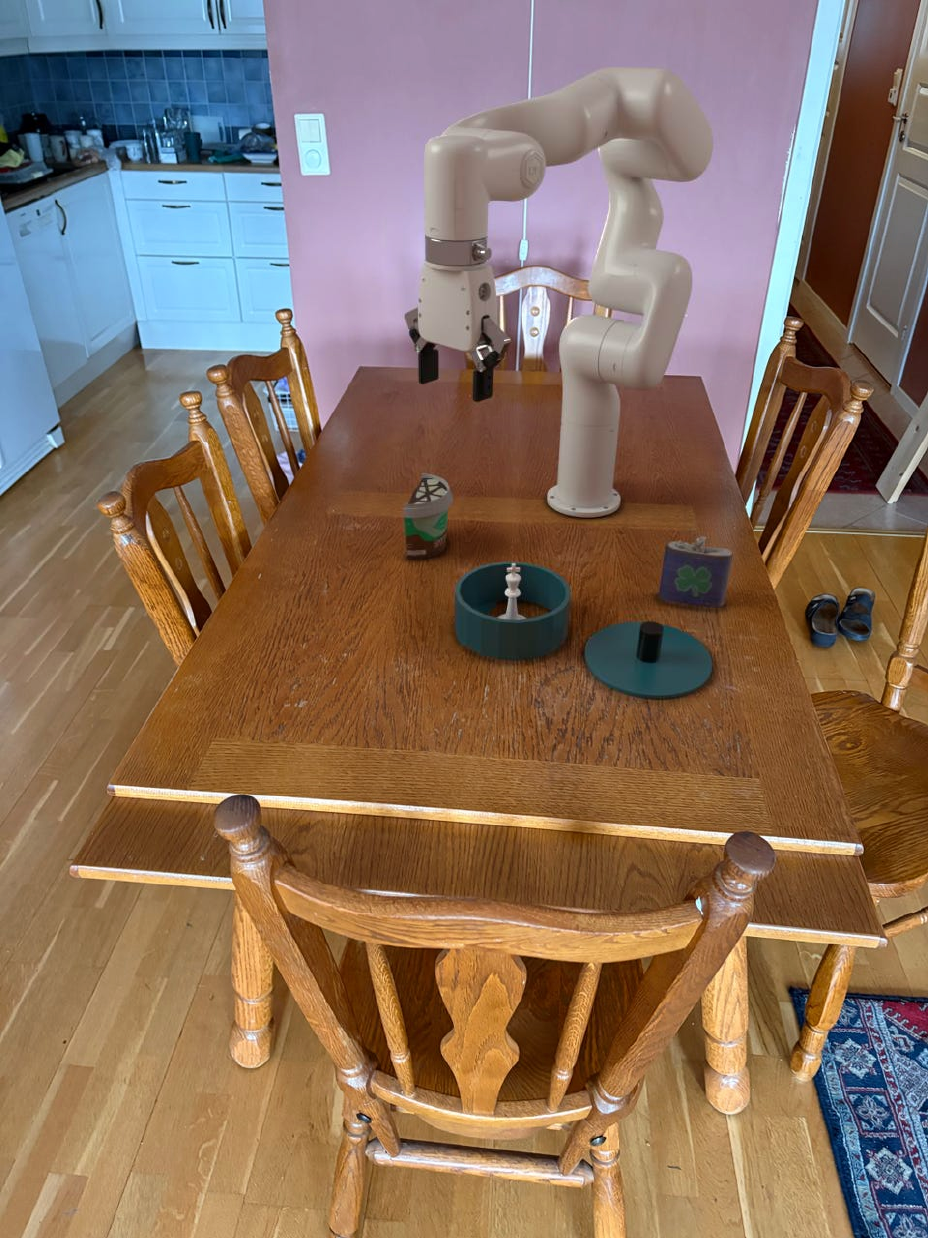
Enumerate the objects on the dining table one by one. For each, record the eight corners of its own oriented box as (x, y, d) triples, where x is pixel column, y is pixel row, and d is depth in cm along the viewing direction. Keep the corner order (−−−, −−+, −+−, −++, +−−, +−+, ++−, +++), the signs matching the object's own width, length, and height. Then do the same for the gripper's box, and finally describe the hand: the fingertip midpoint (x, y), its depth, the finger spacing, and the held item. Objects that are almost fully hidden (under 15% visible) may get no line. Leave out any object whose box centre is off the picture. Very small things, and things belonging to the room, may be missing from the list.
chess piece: (491, 618, 127) (493, 555, 122) (526, 616, 128) (529, 554, 122) (495, 638, 123) (497, 574, 118) (531, 636, 124) (535, 573, 118)
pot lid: (604, 618, 129) (607, 583, 125) (722, 645, 123) (728, 609, 120) (567, 683, 116) (570, 646, 113) (696, 716, 110) (703, 679, 107)
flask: (723, 602, 132) (735, 537, 126) (722, 613, 130) (734, 547, 124) (658, 593, 134) (667, 528, 128) (656, 603, 132) (665, 538, 126)
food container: (443, 567, 140) (442, 509, 134) (404, 563, 141) (402, 505, 136) (460, 530, 150) (460, 474, 145) (423, 527, 151) (422, 471, 146)
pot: (481, 591, 134) (482, 552, 131) (582, 614, 129) (585, 575, 126) (436, 646, 123) (436, 606, 119) (545, 675, 117) (548, 633, 114)
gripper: (531, 258, 108) (524, 399, 117) (427, 237, 117) (428, 369, 127) (488, 267, 103) (485, 414, 112) (384, 245, 113) (388, 381, 122)
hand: (455, 390), depth 119 cm, fingers open, 9 cm apart
